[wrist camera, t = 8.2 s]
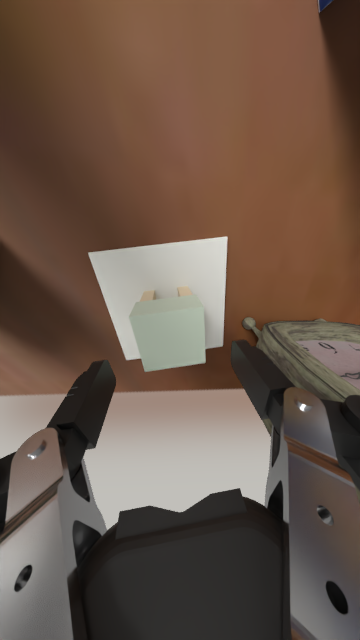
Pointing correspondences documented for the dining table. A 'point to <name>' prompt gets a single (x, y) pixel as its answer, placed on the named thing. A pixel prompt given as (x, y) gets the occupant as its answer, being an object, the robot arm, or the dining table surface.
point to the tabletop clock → (314, 356)
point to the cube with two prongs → (169, 330)
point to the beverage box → (323, 4)
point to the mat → (163, 282)
